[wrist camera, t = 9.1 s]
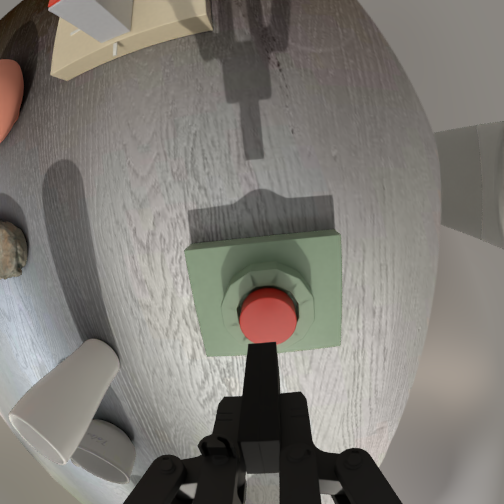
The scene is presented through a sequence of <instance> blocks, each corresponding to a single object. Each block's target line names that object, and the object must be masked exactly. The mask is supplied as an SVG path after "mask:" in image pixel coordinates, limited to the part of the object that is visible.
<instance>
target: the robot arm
mask: <svg viewBox="0 0 504 504" xmlns="http://www.w3.org/2000/svg"><path fill="white" fill-rule="evenodd" d="M198 448H199V450H200V452H201V454H202V455H200V456H198V457H195V458H189V459H183V460H180V458H178V457H176V456H174V455H162V456H160V457H158V458H157V459H155V460H154V461H153V463H152V464H151V466H150V467H149V468H148V470H147V471H146V473H145V474H144V475H143V477H142V478H141V480H140V481H139V482H138V484H137V485H136V487H135V488H134V489H133V491H132V492H131V493H130V495H129V496H128V497H127V499H126V500H125V502H124V503H123V504H245V501H246V488H247V483H246V479H245V475H246V472H247V474H258V473H279V478H280V504H321V496H320V494H329V495H331V496H332V499H333V501H334V503H335V504H402V503H401V501H400V499H399V498H398V496H397V495H396V493H395V492H394V491H393V489H392V487H391V486H390V484H389V483H388V481H387V480H386V478H385V477H384V475H383V474H382V472H381V471H380V469H379V468H378V466H377V465H376V463H375V462H374V460H373V459H372V457H371V456H370V454H369V453H368V452H366V451H365V450H363V449H360V448H351V449H347V450H345V451H343V452H341V453H340V454H336V453H328V452H323V451H321V450H319V449H318V448H317V447H316V446H315V445H314V444H313V441H312V435H311V427H310V420H309V413H308V406H307V400H306V398H305V396H304V395H303V394H302V393H301V392H292V393H281V394H280V378H279V367H278V356H277V345H276V342H265V343H252V344H248V350H247V359H246V368H245V377H244V386H243V395H242V396H236V397H224V398H223V399H222V400H221V402H220V403H219V405H218V409H217V414H216V421H215V424H214V429H213V434H211V435H209V436H206V437H204V438H203V439H202V440H201V441H200V442H199V444H198Z"/></svg>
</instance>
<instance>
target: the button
mask: <svg viewBox="0 0 504 504" xmlns="http://www.w3.org/2000/svg"><path fill="white" fill-rule="evenodd" d="M239 324H240V328H241V331H242V332H243V334H244V335H245V337H246V338H247V339H249V340H250V341H251V342H253V343H265V342H276V345H278V344H281V343H283V342H284V341H286V340H287V339H288V338H290V337H291V335H292V334H293V333H294V331H295V328H296V325H297V317H296V312H295V307H294V303H293V301H292V299H291V298H290V297H289V296H288V295H287V294H286V293H285V292H283V291H281V290H279V289H276V288H261V289H258V290H255V291H254V292H252V293H251V294H249V295H248V296H247V297H246V299H245V300H244V302H243V304H242V309H241V314H240V319H239Z"/></svg>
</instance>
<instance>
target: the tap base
mask: <svg viewBox="0 0 504 504" xmlns="http://www.w3.org/2000/svg"><path fill="white" fill-rule="evenodd" d="M211 30H213V24H212V14H211V4H210V0H133V7H132V18H131V31H130V32H128V33H125V34H123V35H120V36H118V37H115V38H113V39H110V40H108V41H106V42H103V43H100V42H99V41H97V40H96V39H94V38H93V37H91V36H90V35H88V34H87V33H85V32H83V31H82V30H80V29H79V28H77V27H76V26H74V25H72V24H71V23H69V22H67V21H66V20H64V19H62V18H61V17H60V19H59V23H58V28H57V33H56V38H55V44H54V50H53V57H52V65H51V74H50V75H51V76H54V77H57V78H60V79H63V80H65V81H69V80H70V79H72V78H74V77H76V76H78V75H80V74H82V73H84V72H86V71H88V70H90V69H93V68H95V67H97V66H99V65H101V64H104V63H106V62H108V61H111V60H113V59H116V58H118V57H121V56H123V55H126V54H129V53H131V52H134V51H137V50H140V49H143V48H146V47H149V46H152V45H155V44H158V43H162V42H165V41H169V40H172V39H176V38H180V37H184V36H188V35H192V34H197V33H201V32H206V31H211Z"/></svg>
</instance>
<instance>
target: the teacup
mask: <svg viewBox="0 0 504 504" xmlns="http://www.w3.org/2000/svg"><path fill="white" fill-rule="evenodd" d="M135 458H136V450H135V447H134V445H133V443H132V442H131V441H130V439H129V437H128V436H127V435H126V434H125V433H124V432H123V431H122V430H121V429H119V428H118V427H116V426H115V425H113V424H111V423H109V422H106V421H103V420H92V421H91V423H90V425H89V427H88V429H87V431H86V433H85V435H84V437H83V439H82V441H81V442H80V444H79V446H78V447H77V449H76V450H75V452H74V453H73V455H72V456H71V461H72V463H73V464H74V465H76V466H78V467H82V468H83V469H85V470H86V471H88V472H90V473H92V474H93V475H95V476H97V477H100V478H102V479H104V480H107V481H110V482H113V483H118V484H127V483H129V482H130V475H131V472H132V469H133V466H134V462H135Z"/></svg>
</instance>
